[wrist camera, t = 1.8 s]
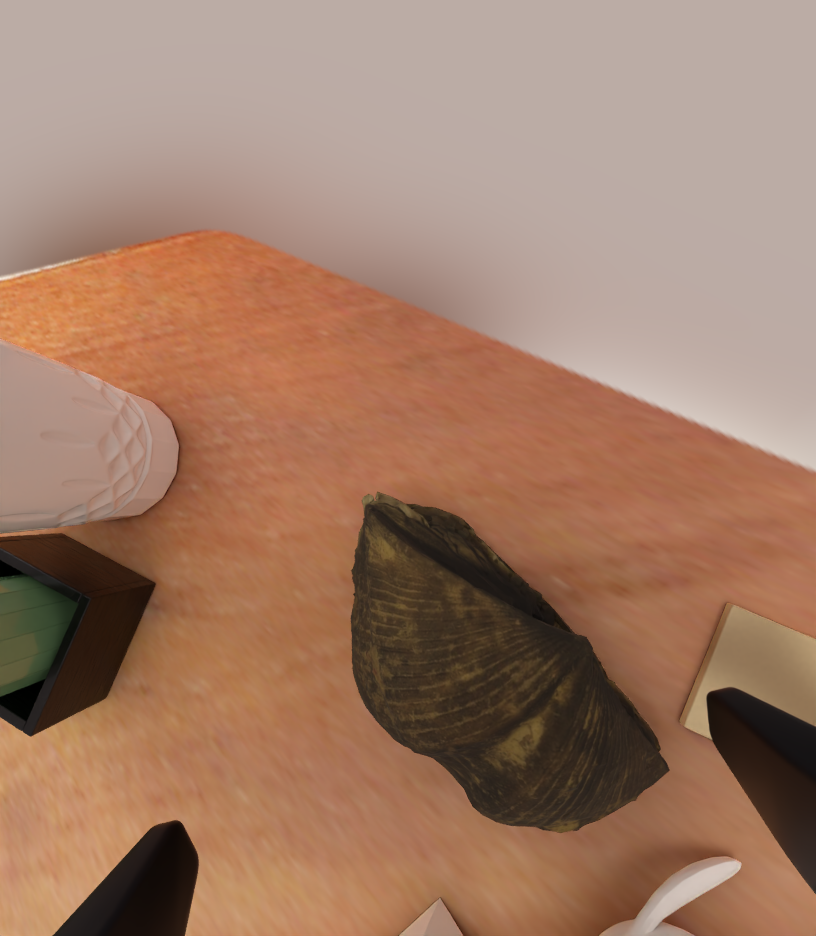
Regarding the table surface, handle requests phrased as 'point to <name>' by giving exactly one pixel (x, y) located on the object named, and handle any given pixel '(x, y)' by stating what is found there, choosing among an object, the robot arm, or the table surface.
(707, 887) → the cat figurine
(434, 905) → the bracket
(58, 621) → the green cylinder
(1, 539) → the black open box
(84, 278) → the table surface
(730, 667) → the coaster
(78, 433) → the white cup
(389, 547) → the seashell
